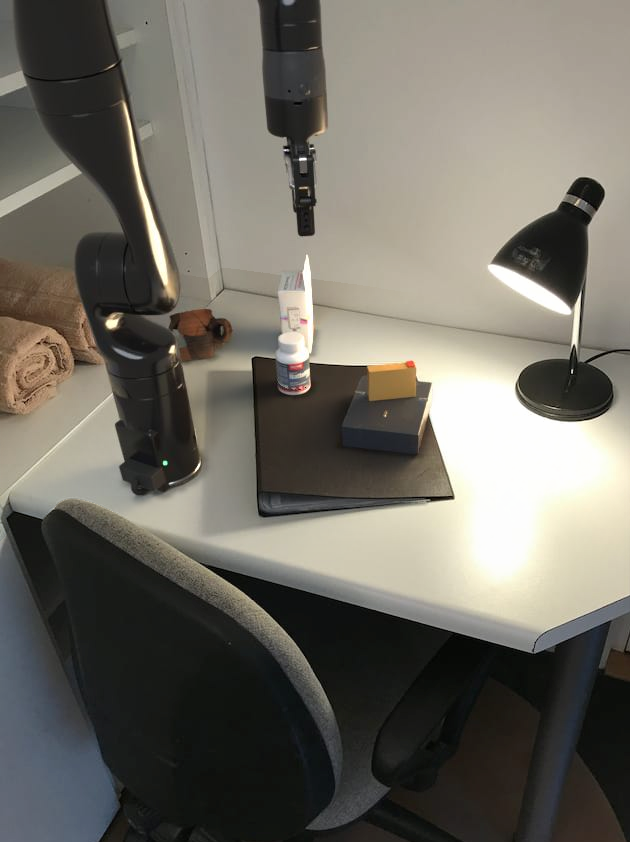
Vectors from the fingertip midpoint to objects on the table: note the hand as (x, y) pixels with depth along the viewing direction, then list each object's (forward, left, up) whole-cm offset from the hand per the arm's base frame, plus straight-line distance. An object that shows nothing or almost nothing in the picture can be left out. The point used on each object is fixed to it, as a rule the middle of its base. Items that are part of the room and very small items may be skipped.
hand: (303, 223), depth 101 cm
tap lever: (+1, -13, -25) cm, 28 cm away
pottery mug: (+6, +26, -28) cm, 39 cm away
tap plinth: (0, -13, -28) cm, 31 cm away
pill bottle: (+2, +5, -28) cm, 29 cm away
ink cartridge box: (+15, +12, -28) cm, 34 cm away
